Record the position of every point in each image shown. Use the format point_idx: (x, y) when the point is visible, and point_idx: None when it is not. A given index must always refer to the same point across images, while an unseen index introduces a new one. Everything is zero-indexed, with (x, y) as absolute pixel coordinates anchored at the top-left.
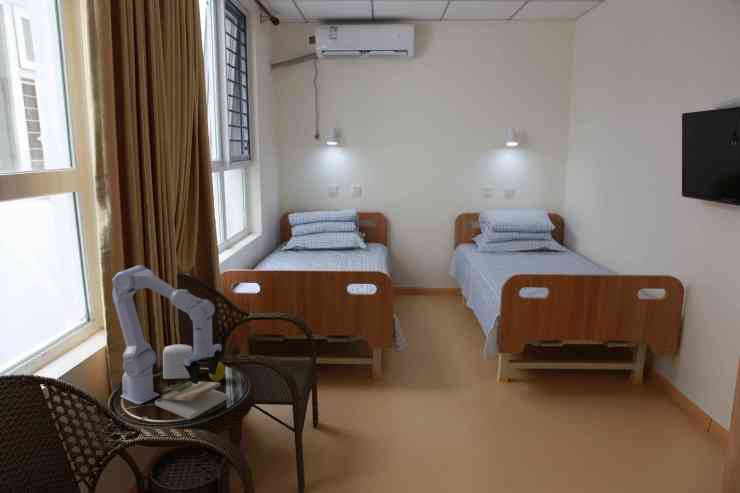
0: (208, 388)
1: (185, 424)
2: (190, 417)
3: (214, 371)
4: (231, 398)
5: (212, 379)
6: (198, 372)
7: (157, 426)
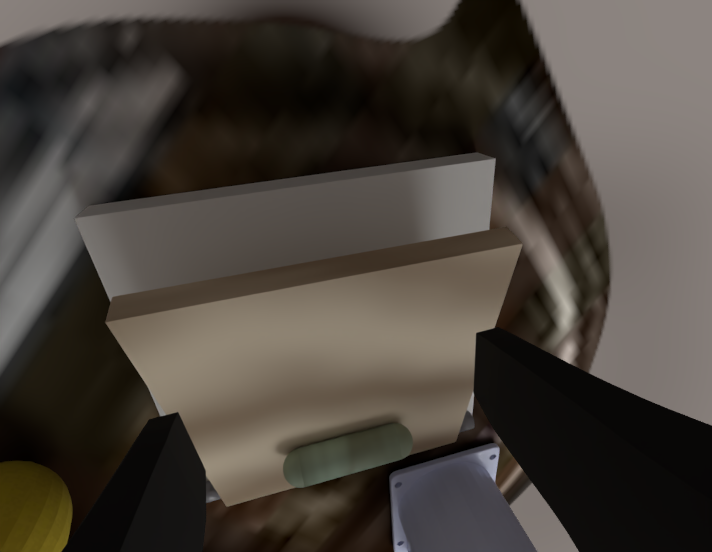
0: (296, 284)
1: (529, 125)
2: (482, 155)
3: (162, 454)
4: (52, 186)
5: (64, 484)
6: (643, 439)
7: (600, 229)
